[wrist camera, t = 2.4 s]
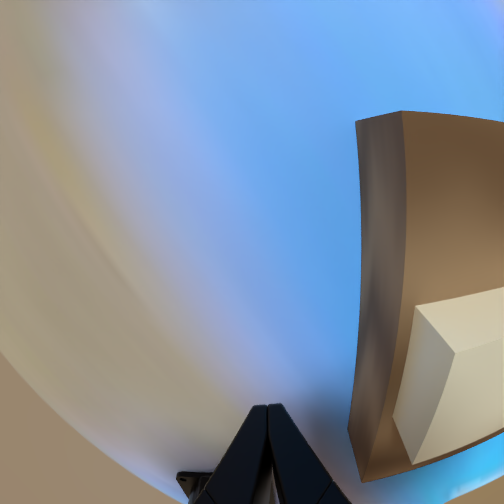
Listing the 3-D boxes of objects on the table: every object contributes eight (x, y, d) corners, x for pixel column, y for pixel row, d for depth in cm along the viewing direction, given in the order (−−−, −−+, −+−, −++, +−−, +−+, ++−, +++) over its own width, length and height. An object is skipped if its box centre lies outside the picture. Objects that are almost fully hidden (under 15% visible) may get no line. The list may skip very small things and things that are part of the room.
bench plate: (502, 382, 15) (529, 417, 11) (347, 429, 15) (361, 483, 12) (546, 139, 10) (598, 147, 6) (355, 121, 10) (401, 110, 7)
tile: (489, 385, 10) (515, 420, 7) (392, 416, 10) (412, 465, 8) (521, 282, 8) (563, 312, 6) (414, 305, 8) (455, 353, 6)
